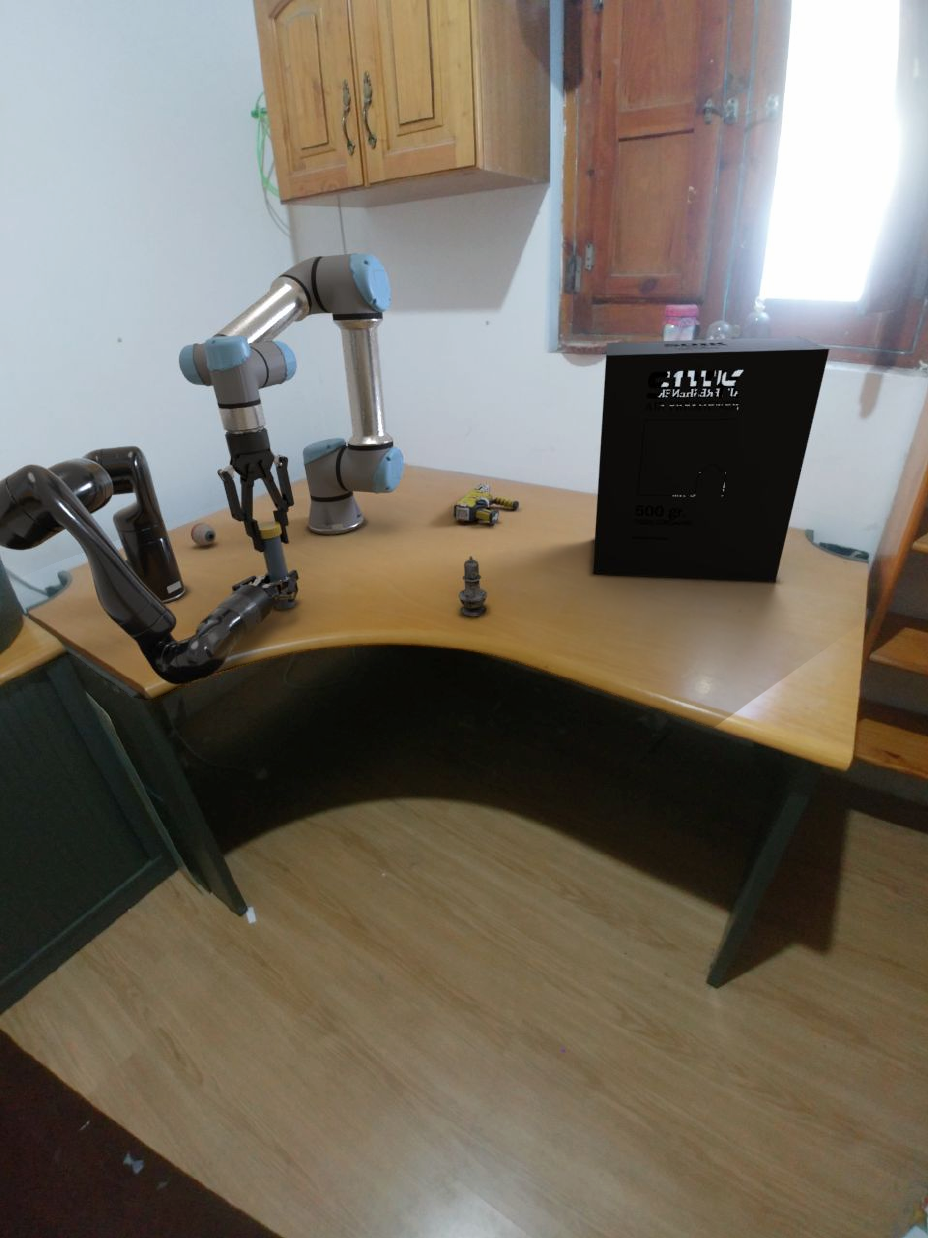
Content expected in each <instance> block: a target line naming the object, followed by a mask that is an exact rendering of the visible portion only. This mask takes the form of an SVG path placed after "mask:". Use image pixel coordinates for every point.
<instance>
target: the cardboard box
mask: <svg viewBox="0 0 928 1238" xmlns="http://www.w3.org/2000/svg"><path fill="white" fill-rule="evenodd" d="M605 351H606V352H605V367H604V369H605V370H604V383H603V384H604V385H603V399H602V400H603V401H602V415H601V431H600V433H601V434H600V448H599V465H598V481H597V497H596V511H595V512H596V514H595V529H594V531H595V532H594V547H593V548H594V550H593V566H592V575H608V576H628V577H629V576H631V577H654V578H655V577H656V578H675V579H676V578H677V579H678V578H679V579H701V580H702V579H703V580H724V581H725V580H726V581H747V582H770V583H776V582H777V577H778V573H779V568H780V565H781V560H782V556H783V552H784V547H785V543H786V538H787V534H788V531H789V530H788V529H789V525H790V521H791V518H792V517H791V516H792V514H793V513H792V512H793V508H794V504H795V500H796V496H797V491H798V488H799V482H800V477H801V474H802V470H803V465H804V460H805V456H806V453H807V448H808V444H809V440H810V435H811V431H812V427H813V422H814V418H815V414H816V409H817V405H818V400H819V397H820V391H821V387H822V383H823V380H824V379H823V378H824V375H825V370H826V366H827V363H828V362H827V361H828V358H829V353H830V348H828V347H826V346H824V345H820V344H819V343H815V342H813V341H811V340H808V339H805V338H803V337H800V336H780V337H778V336H775V337H749V338H748V337H747V338H745V337H744V338H721V339H720V338H717V339H716V338H715V339H689V340H688V339H687V340H684V339H683V340H657V341H655V340H654V341H628V342H627V341H626V342H624V341H623V342H607V343H606V349H605ZM720 371H721V372H720ZM737 371H742V372H740V374H739V375H734V374H735V373H736V372H737ZM678 372H682V376H681V377H680V382H679V385H677V386H676V382H677V377H676V374H677V373H678ZM689 372H694V373H693V382H695V385H691V384H692V376H689ZM702 372H705V375H704V376H702V374H703V373H702ZM719 375H720V379H719ZM724 375H725V377H724ZM723 378H724V382H734V383H733V385H725V384H723ZM705 382H710V385H704V384H705ZM664 383H665V384H666V383H667V386H663V385H664Z"/></svg>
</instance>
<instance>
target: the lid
mask: <svg viewBox="0 0 928 1238" xmlns="http://www.w3.org/2000/svg"><path fill="white" fill-rule="evenodd" d="M258 526H259V531H260V535H261V539H269V538H274V537H277V536H279V535H280V534H281V533H282V530H281V525H280V523H279V522H276V521H275V520H269V521H263V522H261V523H260V522H259V523H258Z"/></svg>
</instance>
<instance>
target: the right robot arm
mask: <svg viewBox="0 0 928 1238" xmlns="http://www.w3.org/2000/svg"><path fill="white" fill-rule="evenodd" d="M391 293H392V292H391V285H390V281H389V277H388V274H387V272H386V269H385V267H384V266H383V263H382V262H381V261H380V259H379V258H378V257H376V256H375V255H373V254H371V253H358V252H354V253H346V254H345V253H344V254H335V255H317V256H313V257H309V258H307V259H304V260H302V261H300V262H299V263H297V264H294V265H293V266H291V267H290V268H288V269H287V270H286V271H284V272H283V273H281V274H279V276H277V277H276V278H275V279H274V280H273V281H271V283H270V286H269V290H268V292H266V293H265V294H264V295H262V296H261V297H260V298H258V300H256V301H255V302H253V303H252V304H251V305H250V306H249V307H247V308H246V309H245V310H244V311H242V312H241V313H239V315H238V316H236V317H235V318H234V319H232V320H231V321H230V322H229V323H227V324H226V325H225V326H223V328H221V329H220V330H219V331H217V332H216V333H215V334H214V335H212V336H211V337H209V338H207V339H206V340H205V341H204V342H201V343H195V342H194V343H192V344H186V345H185V346H183V347H182V348H181V350H180V352H179V354H178V365H179V369H180V371H181V374H182V375H183V377H184V378H185V380H186V381H188V382H189V383H191V384H192V385H195V386H206V387H213V391H214V395H215V399H216V404H217V407H218V408H217V409H218V413H219V417H220V420H221V425H222V428H223V430H224V431H226V432H225V434H224V437H225V442H226V445H227V450H228V453H229V456H230V459H229V465H228V466H226V467H225V468H223V469H222V468H220V469H218V470H217V472H216V473H217V474H218V476H219V478H220V480H221V481H222V485H223V487H224V488H223V489H224V492H225V495H226V500H227V504H228V507H229V511H230V515H231V518H232V519H233V520H235V521H237V522H242V523H243V525H244V530H245V534H246V535H247V536H248V537H249V538H250V539H252V544H253V548H254V550H255V551H257V552H258V553H262V554H263V552H264V548H263V543H262V539H261V535H260V531H259V526H258V524H259V521H258V520H257V519H254V487H255V481H257V480H261V481H262V482H263V485H264V487H265V488H266V491H267V492H268V496H269V497H270V498H271V499H270V500H271V501H272V503H273V506H274V507H275V510H272V514H273V519H274V521H276V522H279V523H280V525H281V530H282V533H281V534H280V537H281V542H282V544H284V545H288V544H290V541H289V536H288V531H287V527H289V524H290V521H289V517H288V512H289V509H290V507H293V506H294V505H295V500H294V499H295V498H294V496H293V489H292V485H291V481H290V476H289V471H288V470H289V469H288V467H289V466H288V465H289V458H288V456H285V455H282V454H278V455H276V454H274V453H273V451H272V449H271V443H270V442H271V441H270V437H269V432H268V429H267V428H266V427H265V426H266V425H267V422H266V418H265V414H264V408H263V404H262V399H261V394H260V390H261V389H265V388H269V387H272V386H277V385H282V384H284V383H286V382H288V381H290V380H292V379H293V377H295V375H296V373H297V367H298V364H297V358H296V355H295V353H294V351H293V350H292V348H291V347H290V346H289V345H288V344H287V343H285V342H283V341H281V340H275V339H276V338H277V337H278V336H279V335H280V334H281V333H282V332H284V331H285V330H286V329H287V328H288V327H289V326H290V325H291V324H293V323H294V322H296V323H297V322H301V321H303V320H304V319H306V318H307V317H309V316H313V315H319V314H331V316H332V323H333V324H335V326H336V327H338V329H339V330H340V335H341V337H340V338H341V344H342V345H341V347H342V353H343V362H344V371H345V372H344V373H345V380H346V389H347V398H348V405H349V415H350V417H349V418H350V425H351V433H352V434H351V436H349V438H348V440H347V441H346V439H345V438H342V437H334V438H328V439H323V440H320V441H319V440H318V441H316V442H313V443H309V444H308V445H306V446H305V447H304V448H303V450H302V457H303V458H302V460H303V467H304V471H305V477H306V481H307V486H308V492H309V498H310V507H309V513H308V523H307V524H308V528H309V529H308V530H310V531H311V532H312V533H314V534H317V535H323V536H324V535H325V536H327V535H329V536H331V535H339V534H340V535H341V534H345V533H350V532H353V531H355V530H357V529H359V528H361V527H362V526H363V525H364V523H365V519H364V514H363V512H362V510H361V508H360V505H359V504H358V501H357V500H356V498H355V495H354V492H359V493H371V494H372V493H373V494H376V495H379V494H390V493H392V492H394V491H395V490H396V489H397V488H398V486H399V484H400V483H401V480H402V478H403V474H404V466H405V465H404V463H405V460H404V455H403V452H402V450H401V449H400V448H398V447H397V446H395V445H394V438H393V437H392V436H391V435H390V434H389V433H388V432H387V424H386V412H385V401H384V387H383V377H382V367H381V354H380V344H379V334H378V333H379V332H378V328H379V326H380V324H381V323H382V322H383V321H384V316H383V315H384V314H383V313H384V312H386V311H388V309H389V307H390V305H391V298H392V294H391ZM273 465H274V466H275V471H276V475H277V481H278V485H279V488H278V485H277V483H276V482H275V478H274V475H273V473H272V471H271V470H272V467H273ZM234 473H236V474H237V475H239V484H240V488H241V489H240V499H239V494H238V490H237V487H236V482H235V480H234V478H235V474H234Z"/></svg>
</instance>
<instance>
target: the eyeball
mask: <svg viewBox="0 0 928 1238" xmlns="http://www.w3.org/2000/svg"><path fill="white" fill-rule="evenodd" d="M216 535H217V534H216V530H215V529H214V527H213V526H212V525H211V524H208V523H206V522H200V523H199V522H198V523H197V524H195V525H193V527H192V528H191V530H190V536H191V540H192V541H193V542H194V543H195V544H196V545H199V546H201V547H207V546H210V545H211V544H213V543H214V541H216V538H217V537H216Z"/></svg>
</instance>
